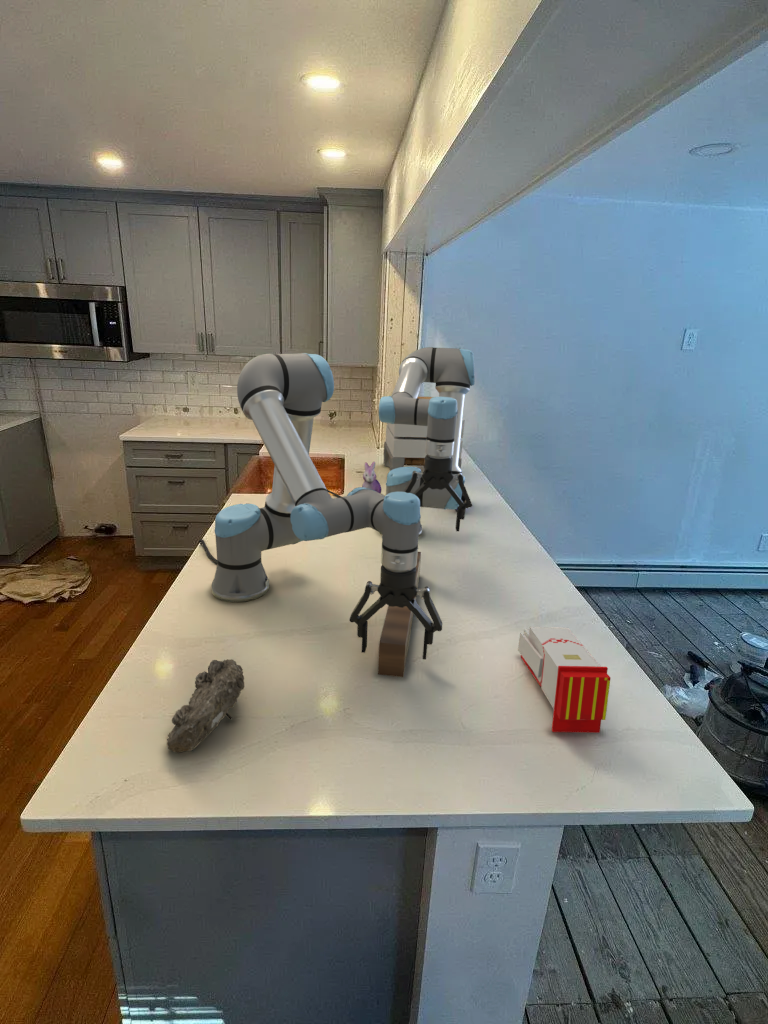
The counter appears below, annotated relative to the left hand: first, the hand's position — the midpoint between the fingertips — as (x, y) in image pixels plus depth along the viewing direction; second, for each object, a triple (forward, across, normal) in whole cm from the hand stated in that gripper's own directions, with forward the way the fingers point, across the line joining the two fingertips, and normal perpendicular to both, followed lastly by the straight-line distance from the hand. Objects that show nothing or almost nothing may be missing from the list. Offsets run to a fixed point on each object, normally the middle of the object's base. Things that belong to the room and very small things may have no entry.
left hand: (394, 652), depth 126 cm
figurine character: (+2, +14, +110) cm, 111 cm away
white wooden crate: (+2, -5, +158) cm, 158 cm away
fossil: (+3, -32, -24) cm, 40 cm away
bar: (+3, 0, +20) cm, 20 cm away
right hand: (-14, +6, +42) cm, 45 cm away
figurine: (+2, -22, +115) cm, 117 cm away
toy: (+3, +35, -3) cm, 35 cm away
